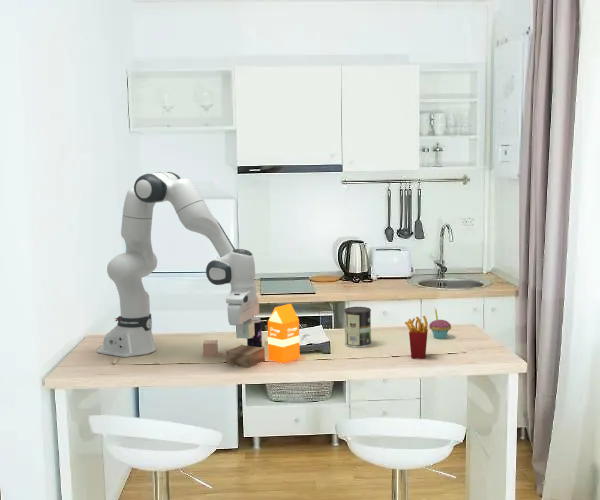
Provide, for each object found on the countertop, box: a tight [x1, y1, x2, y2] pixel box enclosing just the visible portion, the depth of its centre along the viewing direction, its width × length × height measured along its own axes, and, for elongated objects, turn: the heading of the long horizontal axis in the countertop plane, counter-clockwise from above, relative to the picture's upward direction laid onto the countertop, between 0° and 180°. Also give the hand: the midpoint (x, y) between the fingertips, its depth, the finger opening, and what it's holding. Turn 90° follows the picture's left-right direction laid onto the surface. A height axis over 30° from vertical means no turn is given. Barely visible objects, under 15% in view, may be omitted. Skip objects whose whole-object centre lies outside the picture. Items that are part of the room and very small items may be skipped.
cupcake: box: [428, 308, 452, 340], centre depth 306 cm, size 9×8×12 cm
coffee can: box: [344, 306, 372, 349], centre depth 298 cm, size 10×10×14 cm
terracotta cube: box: [202, 339, 219, 358], centre depth 289 cm, size 5×5×5 cm
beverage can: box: [246, 316, 263, 348], centre depth 295 cm, size 6×6×12 cm
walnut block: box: [225, 344, 266, 369], centre depth 278 cm, size 10×10×5 cm
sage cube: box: [235, 321, 255, 340], centre depth 276 cm, size 5×5×5 cm
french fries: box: [404, 315, 429, 360], centre depth 280 cm, size 9×8×15 cm
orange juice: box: [267, 303, 301, 364], centre depth 280 cm, size 8×9×20 cm
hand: (245, 332), depth 276 cm, fingers closed on sage cube, 5 cm apart
